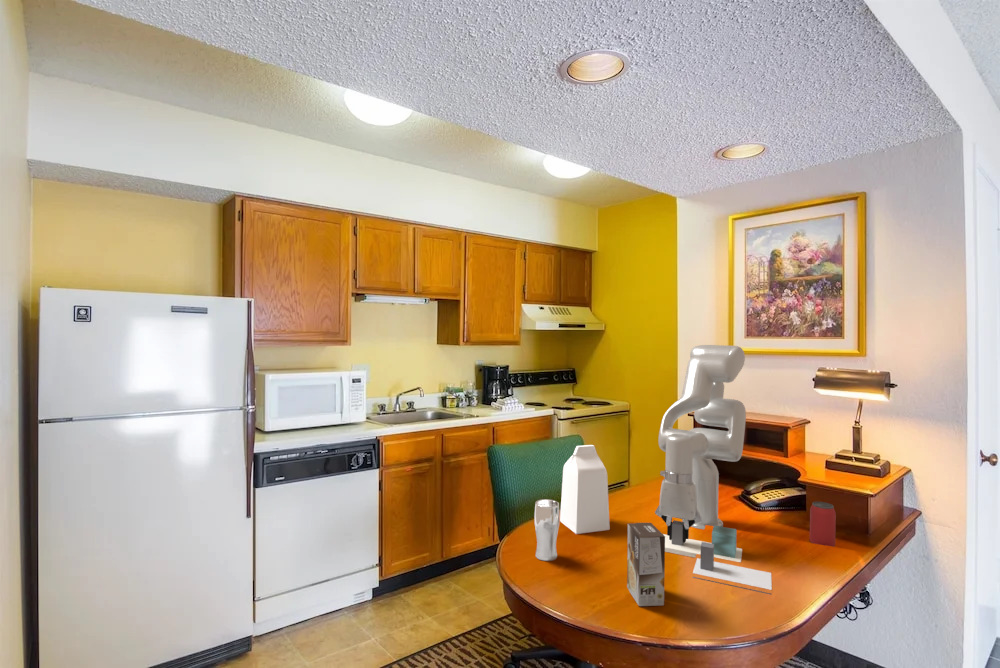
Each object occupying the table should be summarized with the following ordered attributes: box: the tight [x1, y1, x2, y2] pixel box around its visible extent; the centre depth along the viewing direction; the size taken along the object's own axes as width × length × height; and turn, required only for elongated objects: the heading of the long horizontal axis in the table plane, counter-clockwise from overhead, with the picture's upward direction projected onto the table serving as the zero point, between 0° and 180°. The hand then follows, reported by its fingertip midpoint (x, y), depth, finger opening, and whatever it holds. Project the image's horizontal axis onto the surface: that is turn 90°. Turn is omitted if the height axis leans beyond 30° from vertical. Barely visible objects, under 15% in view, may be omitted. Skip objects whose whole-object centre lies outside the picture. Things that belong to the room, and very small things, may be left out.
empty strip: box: [692, 541, 773, 595], centre depth 133 cm, size 18×10×7 cm, turn 63°
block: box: [711, 526, 738, 558], centre depth 146 cm, size 6×6×6 cm
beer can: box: [809, 501, 837, 548], centre depth 156 cm, size 7×7×12 cm
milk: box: [559, 444, 611, 535], centre depth 169 cm, size 12×12×26 cm
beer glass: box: [533, 498, 560, 562], centre depth 145 cm, size 7×7×15 cm
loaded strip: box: [662, 519, 743, 563], centre depth 149 cm, size 22×10×7 cm, turn 63°
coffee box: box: [626, 522, 666, 607], centre depth 123 cm, size 9×6×16 cm
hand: (677, 539), depth 152 cm, fingers closed on loaded strip, 3 cm apart
